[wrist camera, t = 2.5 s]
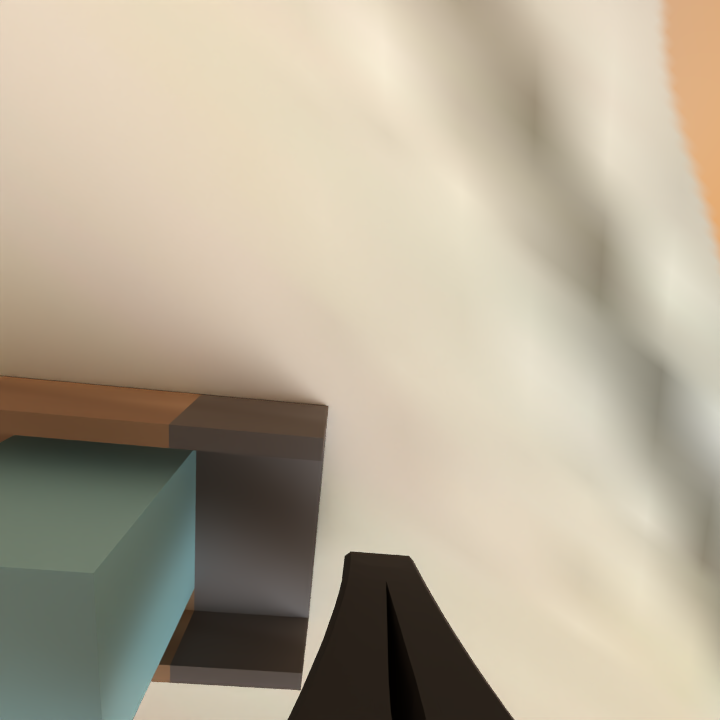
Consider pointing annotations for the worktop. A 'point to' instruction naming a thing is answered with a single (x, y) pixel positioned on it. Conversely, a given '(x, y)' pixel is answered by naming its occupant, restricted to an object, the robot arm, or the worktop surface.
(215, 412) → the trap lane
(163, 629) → the teal block
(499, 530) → the worktop surface
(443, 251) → the worktop surface
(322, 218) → the worktop surface
